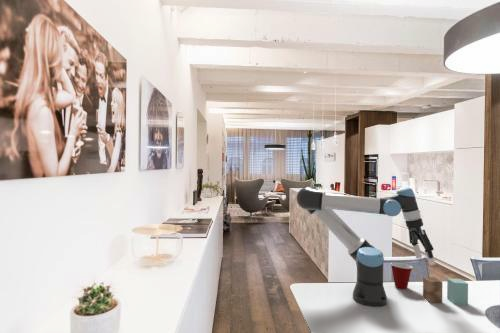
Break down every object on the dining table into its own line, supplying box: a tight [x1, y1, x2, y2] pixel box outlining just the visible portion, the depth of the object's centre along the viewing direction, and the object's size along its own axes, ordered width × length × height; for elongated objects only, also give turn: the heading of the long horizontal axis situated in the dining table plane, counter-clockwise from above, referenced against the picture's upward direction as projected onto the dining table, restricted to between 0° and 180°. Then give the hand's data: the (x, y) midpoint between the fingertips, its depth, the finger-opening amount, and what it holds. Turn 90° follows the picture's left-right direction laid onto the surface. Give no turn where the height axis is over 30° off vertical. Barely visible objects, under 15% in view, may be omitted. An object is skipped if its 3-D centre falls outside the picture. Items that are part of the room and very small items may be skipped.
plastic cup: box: [390, 262, 414, 290], centre depth 161 cm, size 11×11×12 cm
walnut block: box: [422, 276, 443, 304], centre depth 145 cm, size 6×6×10 cm
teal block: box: [446, 277, 469, 306], centre depth 143 cm, size 6×6×10 cm
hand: (425, 261), depth 150 cm, fingers open, 13 cm apart
